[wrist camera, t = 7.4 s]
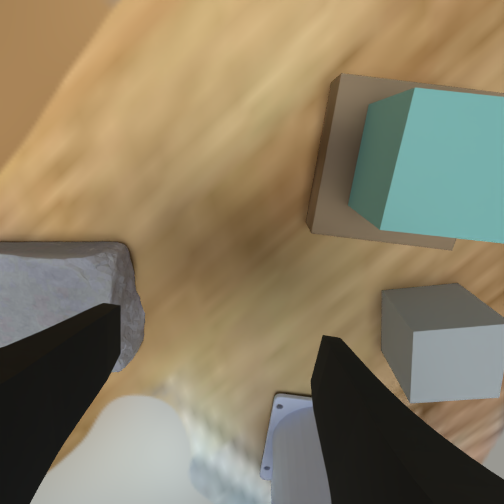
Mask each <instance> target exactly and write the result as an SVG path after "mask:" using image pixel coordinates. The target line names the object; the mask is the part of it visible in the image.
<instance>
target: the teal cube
mask: <svg viewBox="0 0 504 504" xmlns="http://www.w3.org/2000/svg"><path fill="white" fill-rule="evenodd" d="M348 206H349V207H351V208H352V209H353V210H355V211H356V212H357V213H358V214H360V215H361V216H362V217H364V218H365V219H366V220H368V221H369V222H370V223H371V224H373V225H374V226H375V227H377V228H378V229H379V230H385V231H395V232H404V233H413V234H422V235H431V236H441V237H450V238H459V239H468V240H477V241H487V242H496V243H504V97H500V96H490V95H481V94H472V93H462V92H453V91H443V90H434V89H424V88H412V89H410V90H407V91H404V92H401V93H399V94H396V95H393V96H390V97H388V98H385V99H382V100H379V101H377V102H374V103H371V104H369V106H368V111H367V115H366V120H365V125H364V130H363V135H362V140H361V144H360V149H359V154H358V159H357V164H356V169H355V173H354V178H353V183H352V188H351V193H350V198H349V203H348Z"/></svg>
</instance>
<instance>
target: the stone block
mask: <svg viewBox="0 0 504 504" xmlns="http://www.w3.org/2000/svg"><path fill="white" fill-rule="evenodd" d="M102 303H109V304H115V305H121V354H120V356H119V358H118V360H117V362H116V364H115V366H114V368H113V370H112V372H119V371H122V369H123V368H125V367H126V366H127V364H128V363H129V362H130V361H131V360H132V359H133V358H134V356H135V354H136V353H137V351H138V349H139V347H140V345H141V343H142V341H143V337H144V323H145V312H144V310H143V307H142V305H141V302H140V297H139V295H138V293H137V292H136V288H135V277H134V270H133V266H132V262H131V259H130V253H129V251H128V248H127V246H126V245H124V244H123V243H119V242H0V348H1V347H4V346H7V345H9V344H12V343H14V342H16V341H19V340H21V339H23V338H26V337H28V336H31V335H33V334H35V333H38V332H40V331H42V330H45V329H47V328H49V327H51V326H53V325H56V324H58V323H60V322H62V321H64V320H66V319H68V318H71V317H73V316H75V315H77V314H79V313H81V312H83V311H85V310H88V309H90V308H92V307H94V306H97V305H99V304H102Z"/></svg>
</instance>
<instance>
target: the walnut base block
mask: <svg viewBox="0 0 504 504" xmlns="http://www.w3.org/2000/svg"><path fill="white" fill-rule="evenodd" d="M412 88H424V89H434V90H443V91H453V92H462V93H472V94H481V95H490V96H500V97H504V93H498V92H490V91H482V90H474V89H466V88H457V87H449V86H441V85H433V84H425V83H417V82H409V81H400V80H392V79H384V78H376V77H368V76H360V75H352V74H343V73H341V74H340V75H339V76H338V77H337V78H336V79H335V80H333V81H332V82H331V85H330V91H329V96H328V102H327V107H326V113H325V118H324V124H323V130H322V135H321V141H320V146H319V152H318V157H317V163H316V168H315V174H314V179H313V185H312V191H311V196H310V202H309V207H308V213H307V218H306V223H307V225H308V227H309V229H310V231H311V233H313V234H322V235H330V236H338V237H346V238H354V239H362V240H370V241H378V242H386V243H394V244H403V245H411V246H419V247H427V248H435V249H443V250H451V251H452V250H453V247H454V244H455V241H456V238H450V237H441V236H431V235H422V234H413V233H404V232H395V231H385V230H379V229H378V228H377V227H375V226H374V225H373V224H371V223H370V222H369V221H368V220H366V219H365V218H364V217H362V216H361V215H360V214H358V213H357V212H356V211H355V210H353V209H352V208H351V207H349V206H348V203H349V198H350V193H351V188H352V183H353V178H354V173H355V169H356V164H357V159H358V154H359V149H360V144H361V140H362V135H363V130H364V125H365V120H366V115H367V111H368V106H369V104H371V103H374V102H377V101H379V100H382V99H385V98H388V97H390V96H393V95H396V94H399V93H401V92H404V91H407V90H410V89H412Z"/></svg>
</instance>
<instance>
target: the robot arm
mask: <svg viewBox="0 0 504 504" xmlns="http://www.w3.org/2000/svg"><path fill="white" fill-rule="evenodd" d="M120 354H121V305H115V304H109V303H102V304H99V305H97V306H94V307H92V308H90V309H88V310H85V311H83V312H81V313H79V314H77V315H75V316H73V317H71V318H68V319H66V320H64V321H62V322H60V323H58V324H56V325H53V326H51V327H49V328H47V329H45V330H42V331H40V332H38V333H35V334H33V335H31V336H28V337H26V338H23V339H21V340H19V341H16V342H14V343H12V344H9V345H7V346H4V347H1V348H0V504H30V502H31V500H32V499H33V497H34V495H35V493H36V491H37V489H38V487H39V485H40V484H41V482H42V480H43V479H44V477H45V475H46V473H47V471H48V470H49V468H50V466H51V464H52V462H53V461H54V459H55V457H56V455H57V454H58V452H59V451H60V449H61V447H62V446H63V444H64V443H65V441H66V439H67V438H68V437H69V435H70V434H71V432H72V431H73V429H74V428H75V426H76V425H77V423H78V422H79V421H80V419H81V418H82V416H83V415H84V413H85V412H86V410H87V409H88V407H89V406H90V404H91V403H92V402H93V400H94V399H95V397H96V396H97V394H98V393H99V391H100V390H101V388H102V387H103V385H104V384H105V382H106V381H107V379H108V377H109V375H110V374H111V372H112V370H113V368H114V366H115V364H116V362H117V360H118V358H119V356H120ZM311 391H312V397H304V396H297V395H289V394H277V395H275V397H274V401H273V406H272V411H271V417H270V422H269V427H268V432H267V437H266V442H265V448H264V453H263V458H262V463H261V468H260V477H261V478H262V479H264V480H271V504H504V479H502V478H501V477H499V476H497V475H496V474H494V473H493V472H491V471H490V470H488V469H487V468H486V467H484V466H483V465H481V464H480V463H478V462H477V461H475V460H474V459H472V458H471V457H470V456H468V455H467V454H466V453H464V452H463V451H461V450H460V449H459V448H457V447H456V446H455V445H453V444H452V443H451V442H449V441H448V440H446V439H445V438H444V437H443V436H441V435H440V434H439V433H437V432H436V431H435V430H434V429H432V428H431V427H430V426H429V425H428V424H426V423H425V422H424V421H423V420H422V419H421V418H419V417H418V416H417V415H416V414H415V413H413V412H412V411H411V410H410V409H409V408H408V407H407V406H405V405H404V404H403V403H402V402H401V401H400V400H399V399H398V398H397V397H396V396H395V395H394V394H393V393H392V392H391V391H390V390H389V389H388V388H387V387H386V386H385V385H384V384H383V383H382V382H381V381H380V380H379V379H378V378H377V377H376V376H375V375H374V374H373V373H372V372H371V371H370V370H369V369H368V368H367V367H366V366H365V364H364V363H363V362H362V361H361V360H360V359H359V358H358V357H357V356H356V355H355V353H354V352H353V351H352V350H351V349H350V348H349V347H348V346H347V345H346V344H345V342H344V341H343V340H342V339H341V338H338V337H331V336H325V335H323V336H322V340H321V344H320V348H319V352H318V355H317V359H316V363H315V367H314V371H313V374H312V378H311ZM278 404H281V405H278Z"/></svg>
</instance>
